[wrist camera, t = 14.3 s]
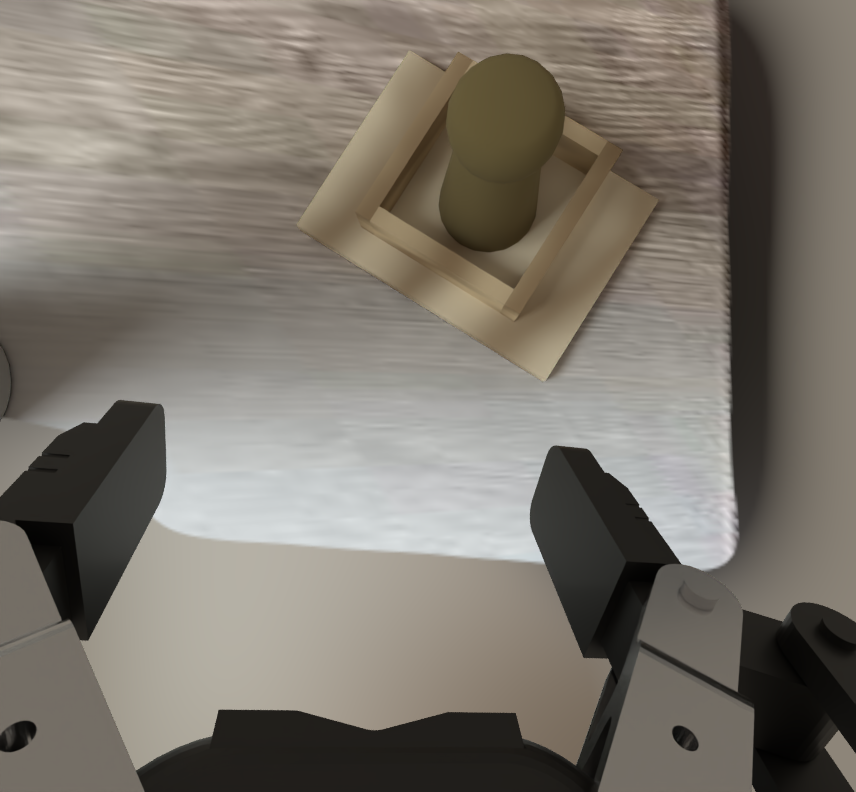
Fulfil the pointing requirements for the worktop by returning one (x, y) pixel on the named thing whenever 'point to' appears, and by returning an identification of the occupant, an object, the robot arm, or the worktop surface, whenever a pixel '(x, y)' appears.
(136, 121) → the worktop surface
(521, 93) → the cork
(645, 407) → the worktop surface
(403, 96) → the stand
